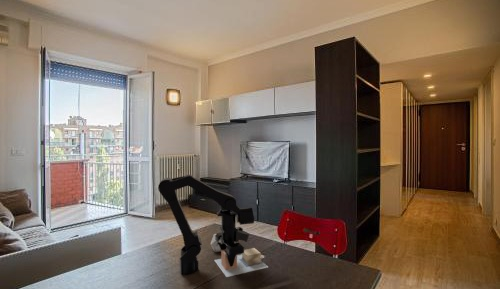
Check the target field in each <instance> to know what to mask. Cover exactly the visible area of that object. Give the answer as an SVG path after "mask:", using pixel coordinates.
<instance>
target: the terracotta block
mask: <svg viewBox="0 0 500 289" xmlns="http://www.w3.org/2000/svg"><path fill="white" fill-rule="evenodd" d="M225 251H226V249H225V250H221V254H220V255H221V256H220V259H221V265H222V266H223V267H224V269H225V270H227V269H232V268H236V267H237V255H238V254H236V257H235V260H234V264H233V266H231V267H230V265H229V262H228V259H227V257H226V254H225Z"/></svg>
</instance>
